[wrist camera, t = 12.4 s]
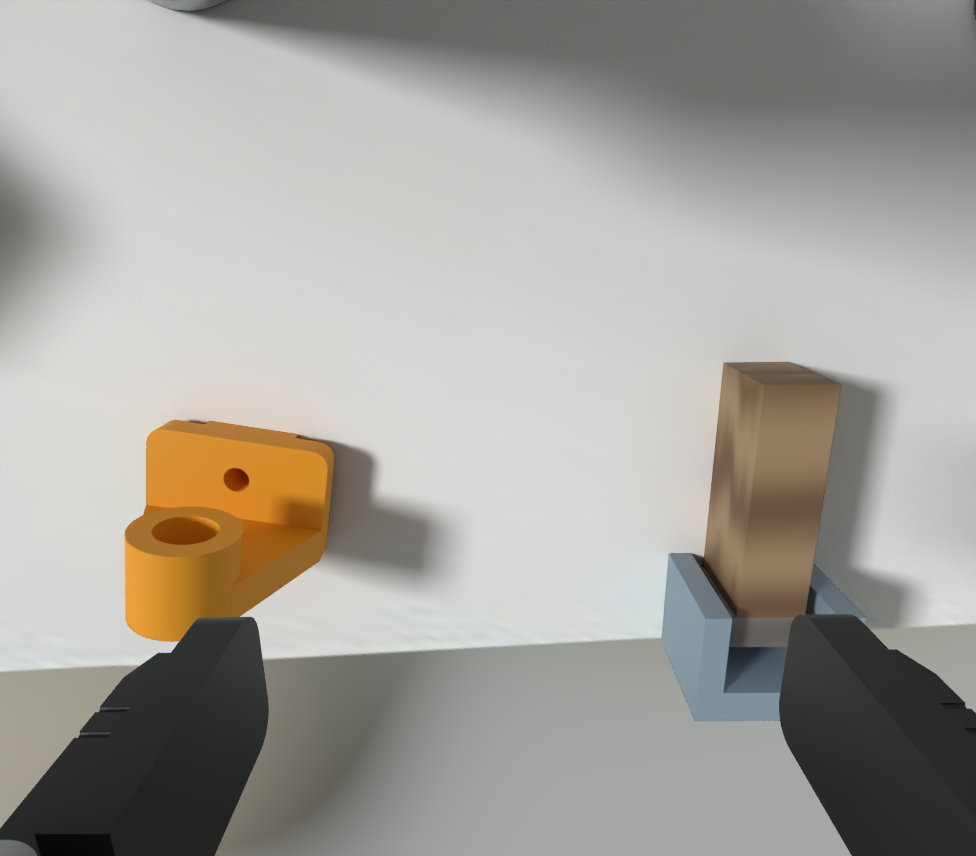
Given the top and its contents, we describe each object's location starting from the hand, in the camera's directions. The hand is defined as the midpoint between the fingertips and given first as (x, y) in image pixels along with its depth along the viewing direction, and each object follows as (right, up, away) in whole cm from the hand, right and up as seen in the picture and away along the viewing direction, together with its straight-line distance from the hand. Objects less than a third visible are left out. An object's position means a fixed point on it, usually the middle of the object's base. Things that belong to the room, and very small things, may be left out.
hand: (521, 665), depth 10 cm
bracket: (-16, 0, +32) cm, 36 cm away
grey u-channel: (+16, -8, +34) cm, 39 cm away
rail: (+16, 0, +31) cm, 35 cm away
